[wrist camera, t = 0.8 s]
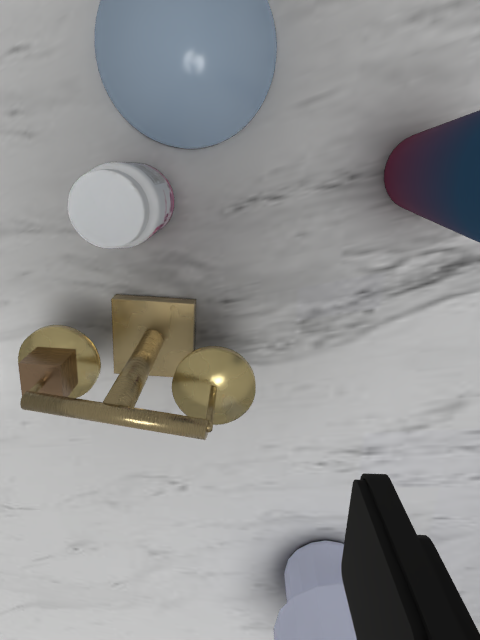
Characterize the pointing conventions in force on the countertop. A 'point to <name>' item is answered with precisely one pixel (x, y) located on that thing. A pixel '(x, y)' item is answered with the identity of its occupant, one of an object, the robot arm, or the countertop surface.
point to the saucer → (186, 65)
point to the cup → (440, 175)
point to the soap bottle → (315, 596)
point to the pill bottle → (120, 204)
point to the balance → (138, 370)
